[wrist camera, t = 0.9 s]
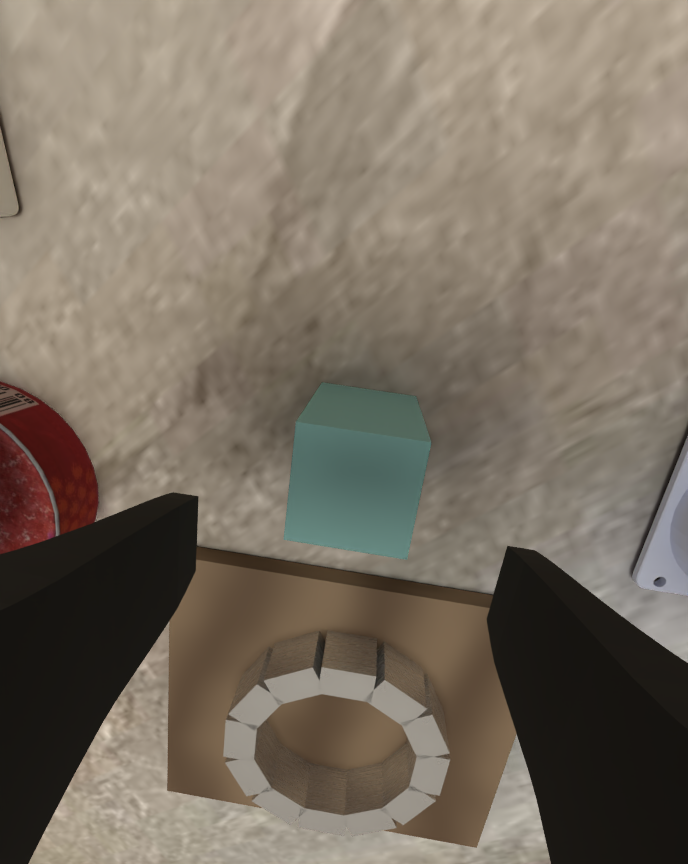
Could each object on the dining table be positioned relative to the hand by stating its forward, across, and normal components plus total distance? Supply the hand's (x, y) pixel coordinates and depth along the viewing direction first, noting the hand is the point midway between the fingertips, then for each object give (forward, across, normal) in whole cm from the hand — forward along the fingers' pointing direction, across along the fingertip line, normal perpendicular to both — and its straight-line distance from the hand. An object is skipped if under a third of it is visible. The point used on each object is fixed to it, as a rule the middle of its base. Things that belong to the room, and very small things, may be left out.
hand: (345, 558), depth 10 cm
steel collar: (+9, -1, +15) cm, 18 cm away
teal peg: (+10, 0, 0) cm, 10 cm away
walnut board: (+9, -1, +15) cm, 18 cm away
